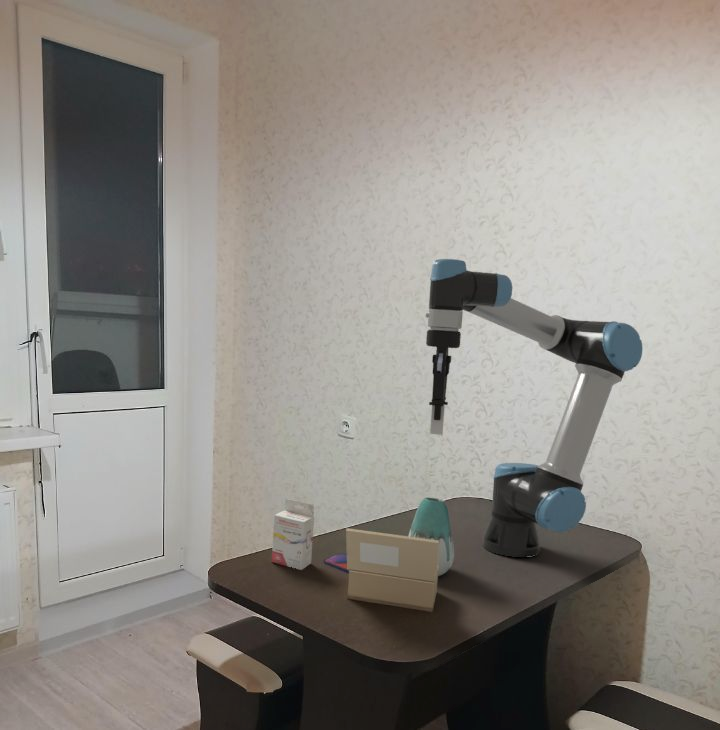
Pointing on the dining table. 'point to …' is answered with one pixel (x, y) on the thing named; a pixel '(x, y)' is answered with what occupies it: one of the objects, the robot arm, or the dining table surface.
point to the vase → (435, 529)
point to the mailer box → (392, 591)
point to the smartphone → (338, 562)
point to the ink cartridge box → (293, 535)
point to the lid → (392, 555)
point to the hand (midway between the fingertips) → (436, 433)
